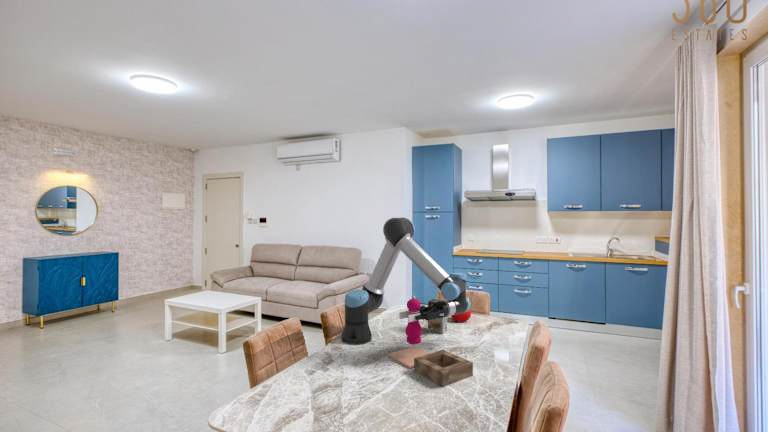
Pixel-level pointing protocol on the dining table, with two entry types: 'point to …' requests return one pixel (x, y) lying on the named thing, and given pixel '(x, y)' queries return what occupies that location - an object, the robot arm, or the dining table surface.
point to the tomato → (462, 316)
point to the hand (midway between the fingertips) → (404, 317)
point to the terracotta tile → (407, 356)
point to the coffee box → (437, 322)
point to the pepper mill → (413, 327)
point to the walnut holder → (445, 376)
